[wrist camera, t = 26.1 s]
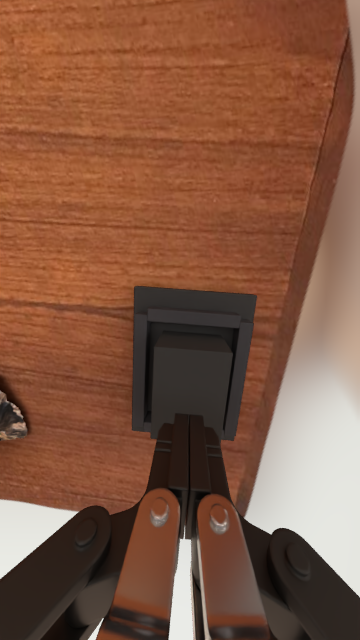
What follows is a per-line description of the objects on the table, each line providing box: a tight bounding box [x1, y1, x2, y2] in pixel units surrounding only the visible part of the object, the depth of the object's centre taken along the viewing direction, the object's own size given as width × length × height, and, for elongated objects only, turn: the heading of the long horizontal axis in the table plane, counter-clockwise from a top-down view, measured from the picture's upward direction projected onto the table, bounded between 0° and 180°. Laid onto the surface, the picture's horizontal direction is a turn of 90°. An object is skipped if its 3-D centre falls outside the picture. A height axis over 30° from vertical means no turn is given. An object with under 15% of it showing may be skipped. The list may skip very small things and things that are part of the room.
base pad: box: [132, 286, 257, 441], centre depth 16 cm, size 14×10×3 cm
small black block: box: [151, 331, 233, 443], centre depth 14 cm, size 7×5×4 cm
